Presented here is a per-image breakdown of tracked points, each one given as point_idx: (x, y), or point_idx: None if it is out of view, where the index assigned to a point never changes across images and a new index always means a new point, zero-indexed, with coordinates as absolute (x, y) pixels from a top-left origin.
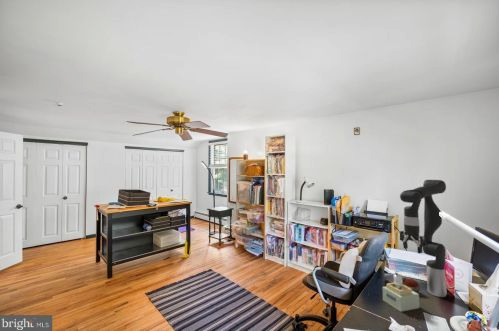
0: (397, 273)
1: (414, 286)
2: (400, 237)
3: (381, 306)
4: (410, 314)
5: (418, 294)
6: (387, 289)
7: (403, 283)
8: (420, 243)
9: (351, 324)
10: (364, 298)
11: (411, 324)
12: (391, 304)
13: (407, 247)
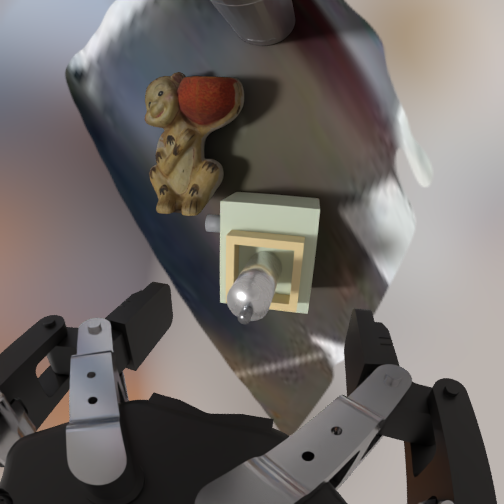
0: (249, 315)
1: (230, 106)
2: (49, 392)
3: None
4: (332, 271)
5: (319, 211)
6: None
7: (191, 127)
8: (407, 469)
9: (293, 425)
10: (209, 324)
11: None
12: None
13: (163, 290)
